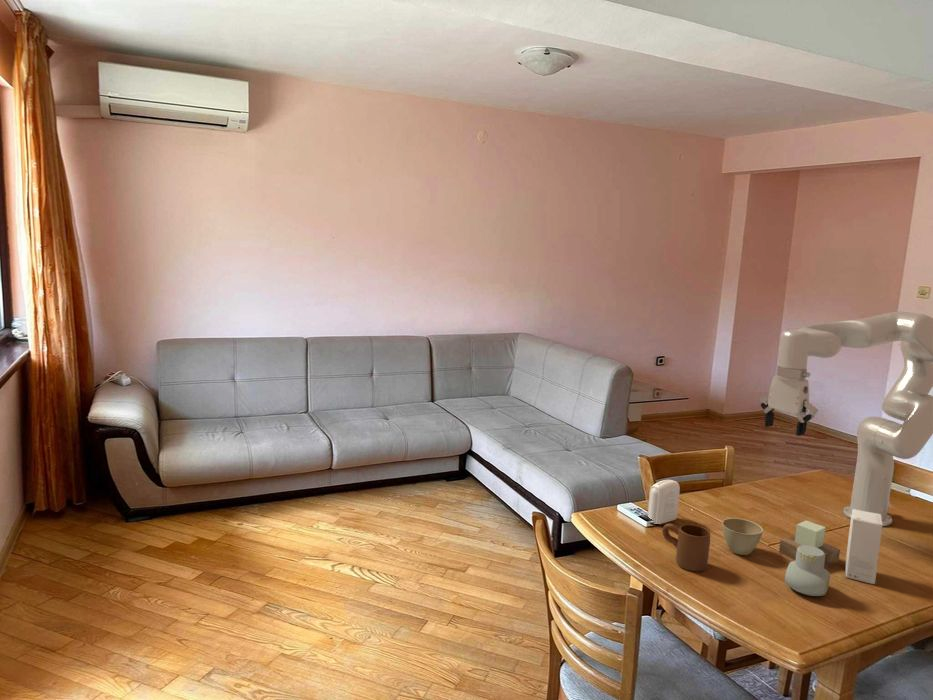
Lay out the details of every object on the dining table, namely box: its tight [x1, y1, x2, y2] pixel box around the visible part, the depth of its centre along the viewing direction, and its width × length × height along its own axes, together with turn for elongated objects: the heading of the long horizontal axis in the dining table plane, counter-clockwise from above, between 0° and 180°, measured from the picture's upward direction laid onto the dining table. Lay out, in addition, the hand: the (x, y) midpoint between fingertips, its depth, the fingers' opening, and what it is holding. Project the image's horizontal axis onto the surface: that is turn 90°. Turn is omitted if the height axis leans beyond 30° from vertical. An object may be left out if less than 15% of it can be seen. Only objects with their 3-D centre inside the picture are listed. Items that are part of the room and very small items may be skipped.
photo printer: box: [646, 479, 681, 525], centre depth 182 cm, size 10×4×12 cm, turn 123°
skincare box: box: [845, 509, 883, 585], centre depth 155 cm, size 8×7×16 cm
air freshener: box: [784, 545, 831, 597], centre depth 147 cm, size 11×8×10 cm
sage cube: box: [794, 520, 826, 548], centre depth 163 cm, size 5×5×5 cm
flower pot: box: [721, 517, 764, 556], centre depth 166 cm, size 10×10×7 cm
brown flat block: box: [778, 535, 841, 568], centre depth 164 cm, size 10×10×4 cm
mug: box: [661, 523, 711, 573], centre depth 158 cm, size 12×8×9 cm, turn 50°
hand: (784, 430), depth 181 cm, fingers open, 9 cm apart
